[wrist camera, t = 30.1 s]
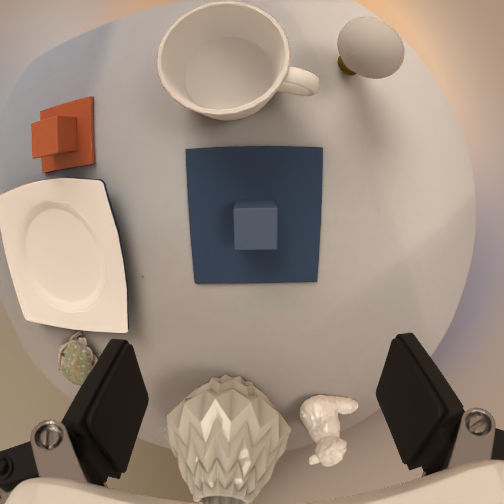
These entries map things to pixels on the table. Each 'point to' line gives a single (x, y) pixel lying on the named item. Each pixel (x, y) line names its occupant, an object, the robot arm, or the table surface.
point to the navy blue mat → (252, 189)
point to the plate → (66, 254)
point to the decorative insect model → (76, 359)
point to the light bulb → (369, 48)
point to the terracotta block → (54, 136)
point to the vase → (226, 440)
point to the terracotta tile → (84, 135)
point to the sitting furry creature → (326, 426)
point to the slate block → (255, 225)
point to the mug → (229, 61)
